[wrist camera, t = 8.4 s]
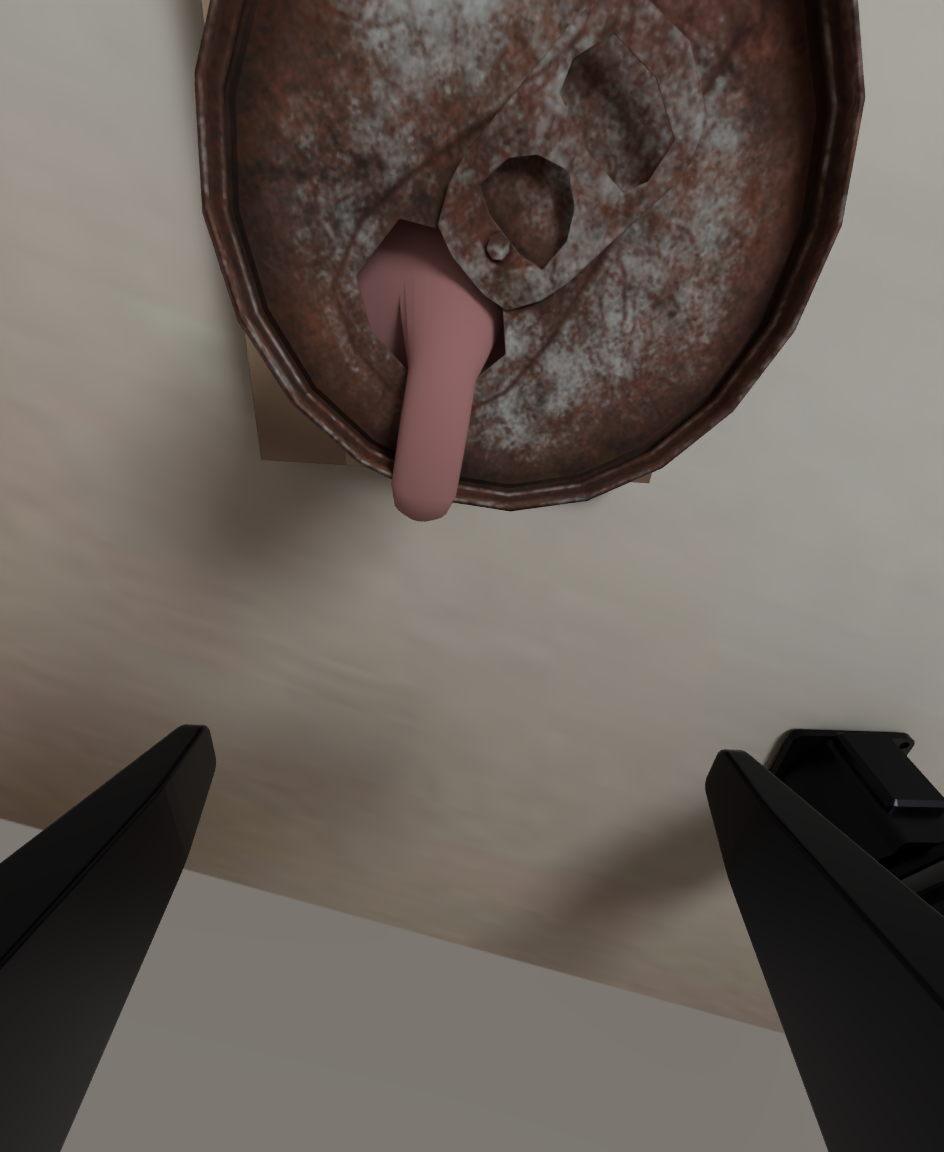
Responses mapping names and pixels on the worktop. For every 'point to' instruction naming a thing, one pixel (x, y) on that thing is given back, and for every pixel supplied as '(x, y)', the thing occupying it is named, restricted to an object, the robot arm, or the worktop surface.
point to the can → (523, 222)
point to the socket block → (291, 415)
